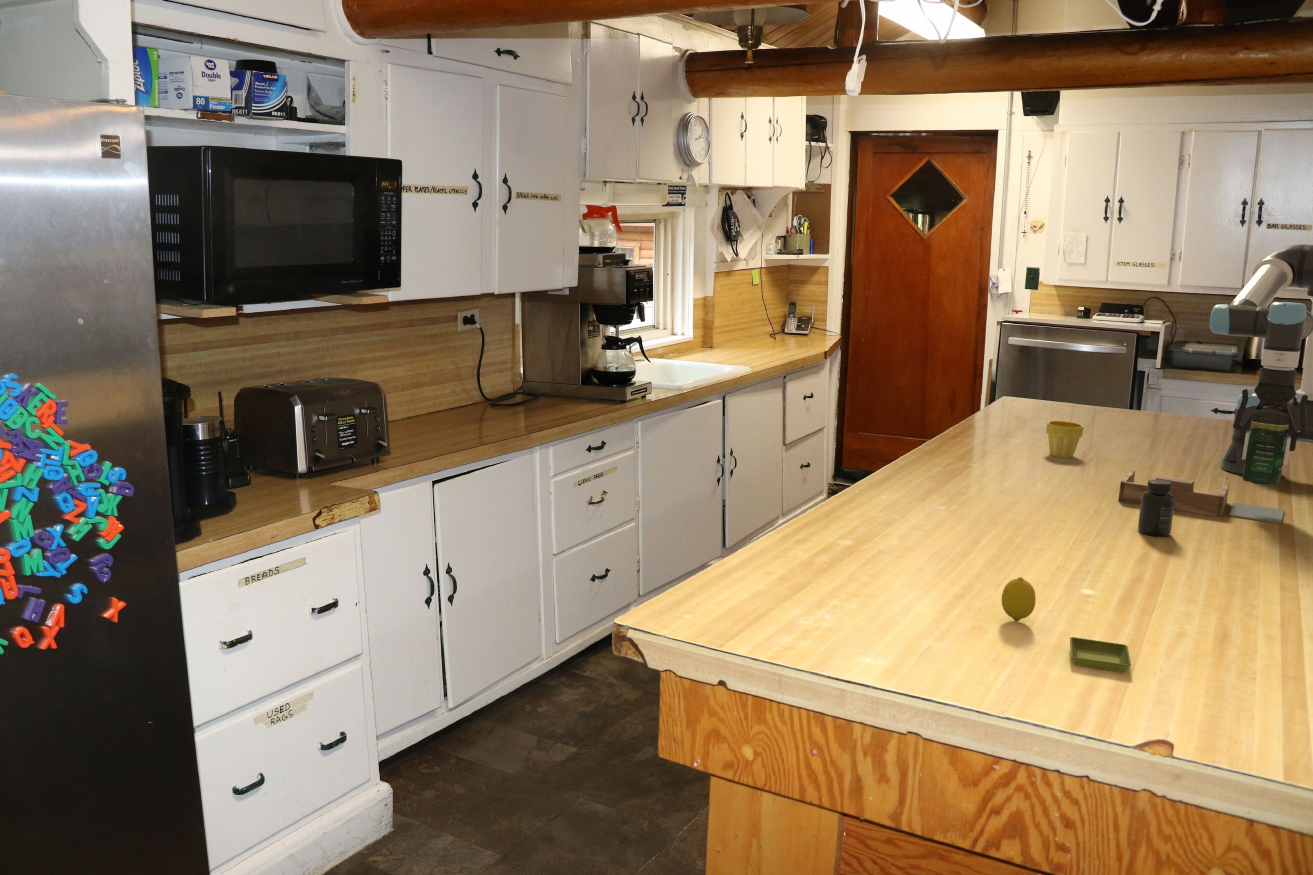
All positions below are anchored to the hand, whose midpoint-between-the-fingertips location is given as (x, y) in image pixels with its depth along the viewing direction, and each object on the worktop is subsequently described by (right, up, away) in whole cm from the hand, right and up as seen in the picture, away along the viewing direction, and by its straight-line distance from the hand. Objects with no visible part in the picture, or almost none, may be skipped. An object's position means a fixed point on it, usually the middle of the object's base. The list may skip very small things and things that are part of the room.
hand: (1264, 460), depth 248 cm
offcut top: (-18, -7, +7) cm, 21 cm away
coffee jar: (0, -5, +1) cm, 5 cm away
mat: (0, -13, +3) cm, 13 cm away
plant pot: (-24, 0, +62) cm, 67 cm away
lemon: (-85, -26, -70) cm, 113 cm away
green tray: (-77, -30, -85) cm, 119 cm away
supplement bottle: (-34, -16, -15) cm, 41 cm away
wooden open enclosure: (-16, -11, +12) cm, 23 cm away
